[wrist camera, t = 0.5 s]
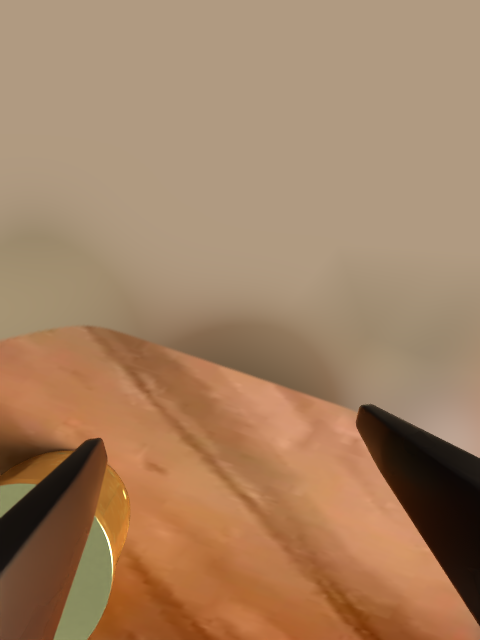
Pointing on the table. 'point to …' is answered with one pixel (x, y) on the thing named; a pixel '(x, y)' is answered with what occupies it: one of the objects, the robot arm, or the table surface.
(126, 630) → the table surface
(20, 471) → the pot
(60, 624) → the lid
